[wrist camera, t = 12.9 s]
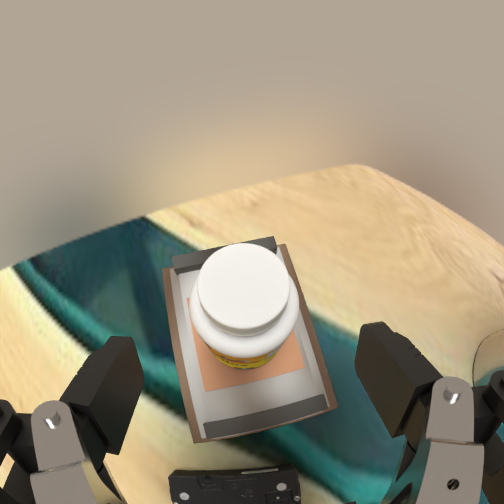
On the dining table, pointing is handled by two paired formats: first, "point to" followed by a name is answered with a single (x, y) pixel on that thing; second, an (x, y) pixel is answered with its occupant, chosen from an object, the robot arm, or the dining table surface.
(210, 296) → the supplement bottle
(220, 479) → the disk drive
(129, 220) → the dining table surface
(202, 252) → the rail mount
